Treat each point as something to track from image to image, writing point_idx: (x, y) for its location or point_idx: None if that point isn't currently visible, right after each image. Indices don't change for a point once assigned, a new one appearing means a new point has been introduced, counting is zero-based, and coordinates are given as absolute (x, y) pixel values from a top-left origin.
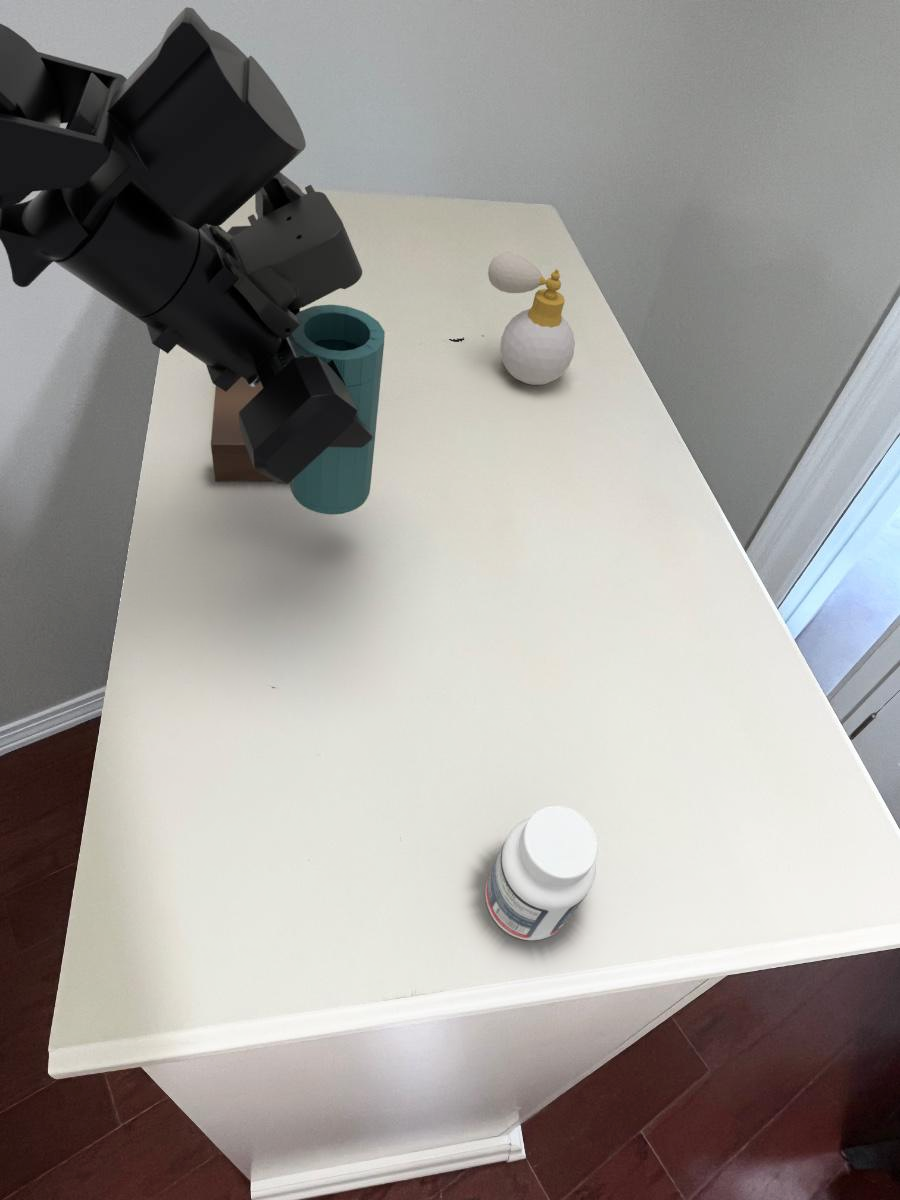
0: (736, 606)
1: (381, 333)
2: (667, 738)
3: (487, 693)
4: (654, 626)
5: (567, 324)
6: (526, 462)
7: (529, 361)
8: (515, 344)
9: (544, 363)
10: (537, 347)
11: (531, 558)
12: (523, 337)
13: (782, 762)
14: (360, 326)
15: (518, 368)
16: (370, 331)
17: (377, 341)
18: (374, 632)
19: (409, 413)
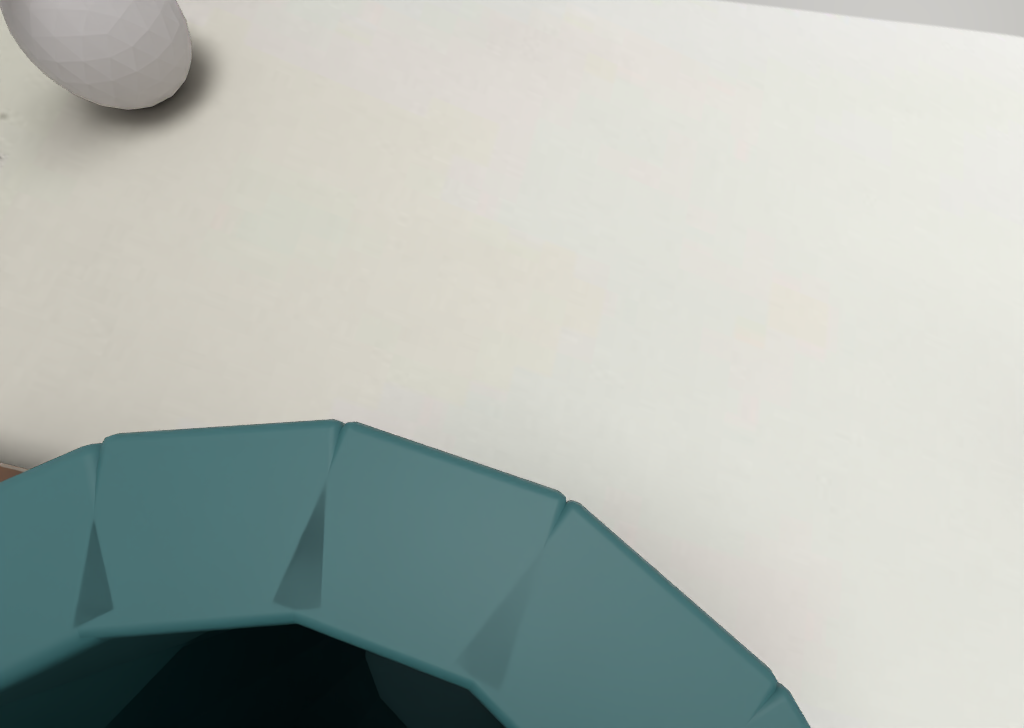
0: (712, 29)
1: (384, 474)
2: (918, 203)
3: (831, 412)
4: (733, 137)
5: None
6: (362, 172)
7: (144, 51)
8: (88, 50)
9: (163, 30)
10: (122, 14)
11: (575, 246)
12: (81, 23)
13: (956, 95)
14: (74, 665)
15: (144, 83)
16: (312, 628)
17: (556, 590)
18: (689, 561)
19: (161, 320)
